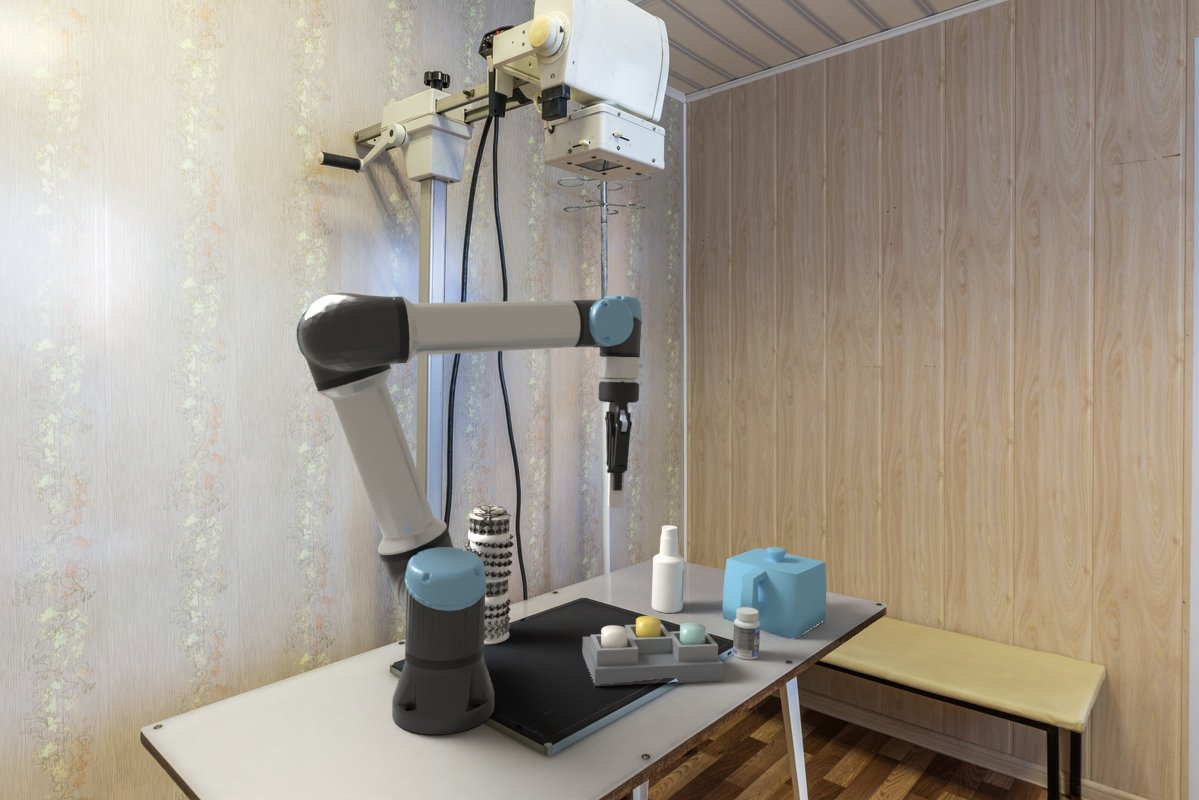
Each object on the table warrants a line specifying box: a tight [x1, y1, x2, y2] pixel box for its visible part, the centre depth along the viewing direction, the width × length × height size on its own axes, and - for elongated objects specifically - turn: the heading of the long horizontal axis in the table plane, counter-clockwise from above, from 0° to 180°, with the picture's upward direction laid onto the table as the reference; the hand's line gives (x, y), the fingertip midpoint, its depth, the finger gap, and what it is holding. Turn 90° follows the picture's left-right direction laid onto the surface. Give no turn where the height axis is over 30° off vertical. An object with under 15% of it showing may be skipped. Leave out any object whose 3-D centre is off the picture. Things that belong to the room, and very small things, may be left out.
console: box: [581, 623, 725, 685], centre depth 126 cm, size 22×14×6 cm, turn 100°
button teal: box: [679, 622, 707, 645], centre depth 125 cm, size 4×4×4 cm
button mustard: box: [635, 615, 662, 638], centre depth 128 cm, size 4×4×4 cm
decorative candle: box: [464, 504, 514, 645], centre depth 138 cm, size 9×9×25 cm
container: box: [722, 546, 827, 640], centre depth 152 cm, size 17×25×15 cm
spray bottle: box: [651, 524, 685, 614], centre depth 156 cm, size 7×7×18 cm
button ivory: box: [600, 624, 627, 648], centre depth 123 cm, size 4×4×4 cm
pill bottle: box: [732, 607, 761, 660], centre depth 132 cm, size 5×5×8 cm
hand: (615, 506), depth 134 cm, fingers closed
